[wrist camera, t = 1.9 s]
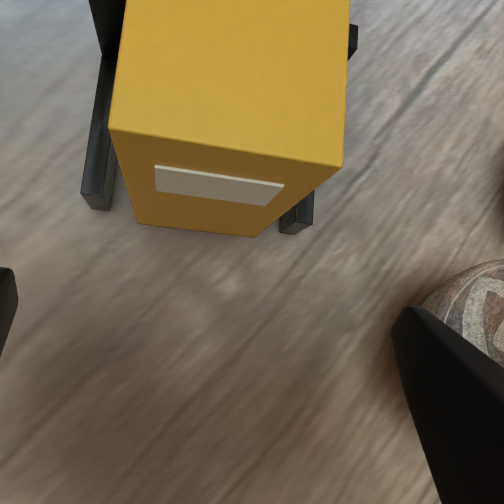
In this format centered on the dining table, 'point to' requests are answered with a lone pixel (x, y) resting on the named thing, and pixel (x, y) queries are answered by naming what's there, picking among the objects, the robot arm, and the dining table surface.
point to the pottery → (474, 307)
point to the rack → (100, 143)
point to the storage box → (228, 108)
